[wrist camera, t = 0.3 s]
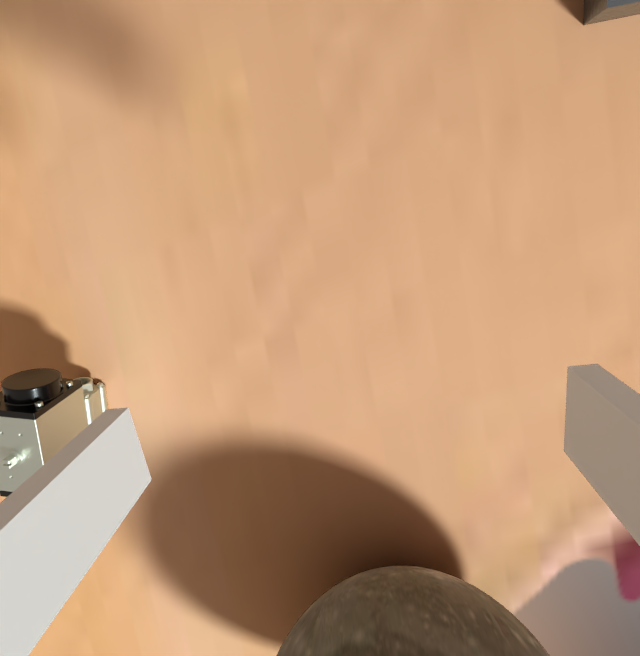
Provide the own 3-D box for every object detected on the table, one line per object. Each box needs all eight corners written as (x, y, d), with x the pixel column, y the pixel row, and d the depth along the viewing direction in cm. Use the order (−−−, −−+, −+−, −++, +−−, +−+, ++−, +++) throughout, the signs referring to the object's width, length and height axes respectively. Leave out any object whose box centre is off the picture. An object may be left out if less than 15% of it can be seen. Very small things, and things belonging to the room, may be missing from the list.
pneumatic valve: (108, 348, 43) (19, 404, 32) (119, 443, 47) (43, 524, 35) (58, 343, 43) (-48, 397, 32) (72, 438, 47) (-17, 517, 36)
